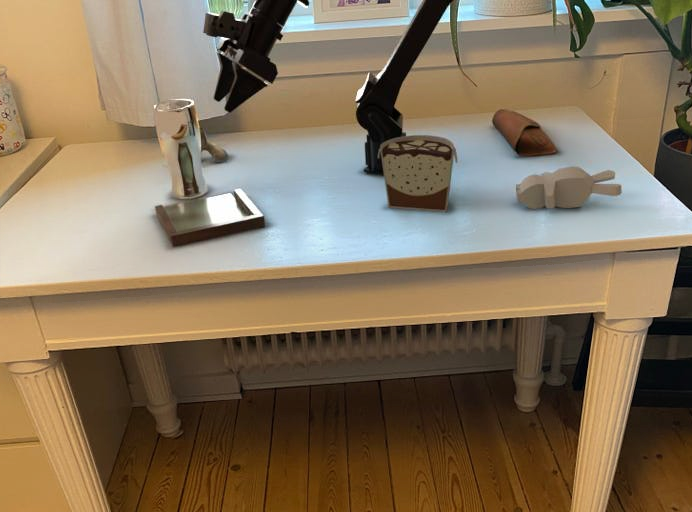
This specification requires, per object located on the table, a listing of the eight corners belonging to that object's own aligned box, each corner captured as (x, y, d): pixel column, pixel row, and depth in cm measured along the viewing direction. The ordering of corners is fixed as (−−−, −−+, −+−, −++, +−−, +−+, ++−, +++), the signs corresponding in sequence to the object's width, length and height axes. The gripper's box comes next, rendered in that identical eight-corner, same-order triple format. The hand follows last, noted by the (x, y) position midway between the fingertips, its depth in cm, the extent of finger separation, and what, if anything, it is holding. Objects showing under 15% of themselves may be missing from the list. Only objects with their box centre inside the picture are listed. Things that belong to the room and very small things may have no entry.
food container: (464, 197, 121) (465, 135, 115) (455, 212, 116) (456, 148, 110) (390, 192, 124) (388, 132, 119) (379, 206, 120) (376, 144, 114)
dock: (153, 210, 124) (151, 199, 123) (237, 192, 129) (235, 182, 128) (173, 247, 112) (170, 236, 111) (265, 226, 116) (263, 215, 115)
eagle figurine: (170, 157, 143) (203, 155, 138) (174, 120, 143) (207, 116, 137) (200, 168, 149) (232, 166, 144) (204, 132, 149) (237, 128, 144)
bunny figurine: (513, 168, 119) (612, 155, 116) (515, 198, 122) (612, 186, 119) (517, 190, 111) (624, 177, 108) (519, 222, 114) (623, 210, 111)
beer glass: (201, 200, 127) (185, 110, 118) (163, 200, 128) (144, 110, 120) (216, 185, 132) (201, 98, 124) (179, 184, 134) (162, 98, 125)
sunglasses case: (561, 150, 134) (545, 120, 131) (527, 173, 136) (510, 143, 133) (533, 121, 149) (517, 93, 146) (502, 142, 151) (486, 115, 148)
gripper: (212, -16, 124) (169, 70, 128) (236, -8, 108) (186, 90, 112) (269, 22, 129) (226, 104, 133) (299, 35, 114) (250, 127, 118)
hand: (221, 105), depth 124 cm, fingers open, 9 cm apart
